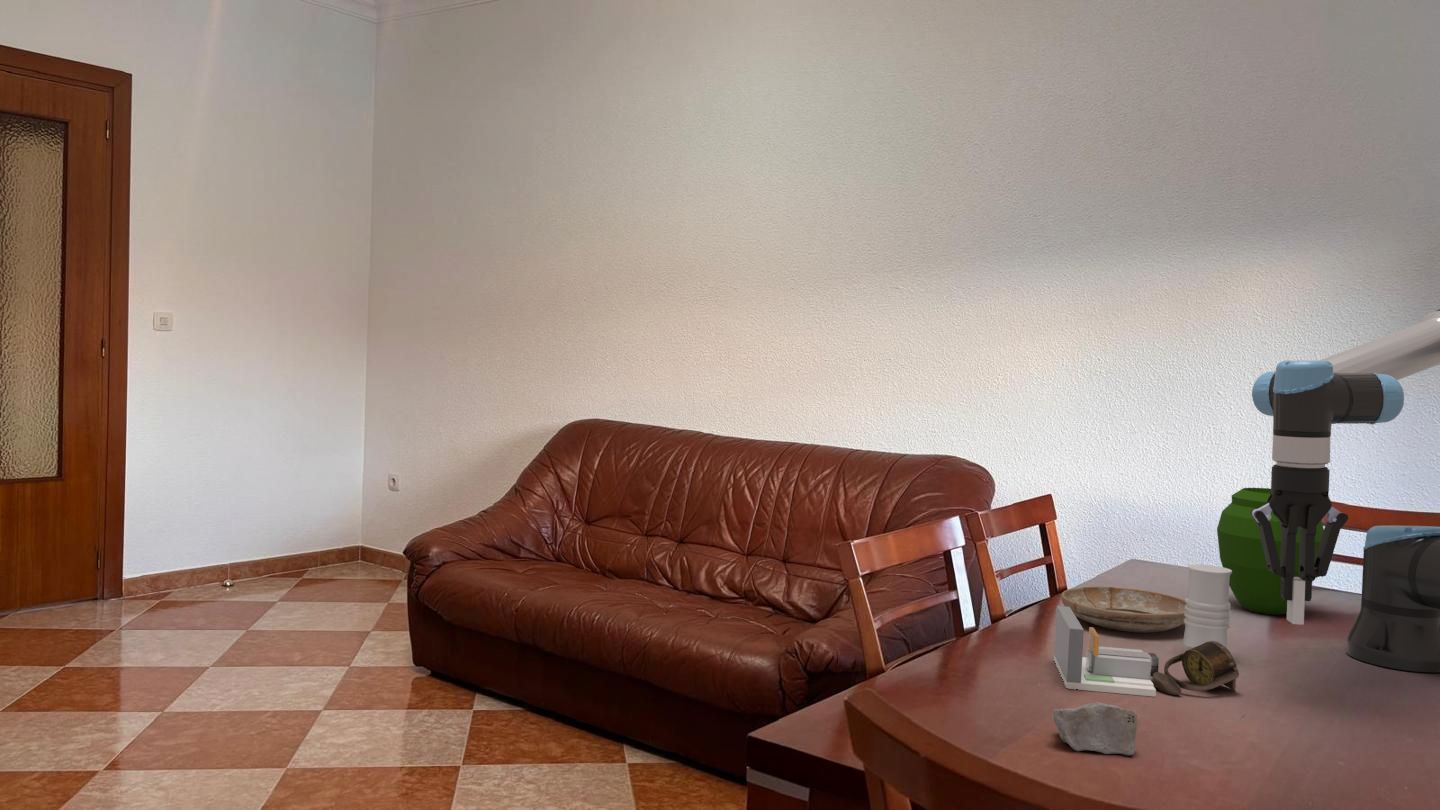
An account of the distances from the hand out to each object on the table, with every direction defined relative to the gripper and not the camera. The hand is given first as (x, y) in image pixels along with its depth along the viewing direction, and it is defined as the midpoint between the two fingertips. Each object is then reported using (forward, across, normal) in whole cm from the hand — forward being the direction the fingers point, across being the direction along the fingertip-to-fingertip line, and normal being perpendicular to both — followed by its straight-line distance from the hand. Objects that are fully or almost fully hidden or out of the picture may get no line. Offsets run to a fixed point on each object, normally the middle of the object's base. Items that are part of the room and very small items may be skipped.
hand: (1295, 621), depth 156 cm
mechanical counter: (+11, +15, +2) cm, 18 cm away
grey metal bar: (+9, +24, +2) cm, 26 cm away
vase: (+12, -14, -60) cm, 62 cm away
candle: (+11, +8, -18) cm, 22 cm away
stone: (+10, +33, +32) cm, 47 cm away
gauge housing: (+10, +27, +1) cm, 29 cm away
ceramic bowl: (+11, +17, -38) cm, 43 cm away
